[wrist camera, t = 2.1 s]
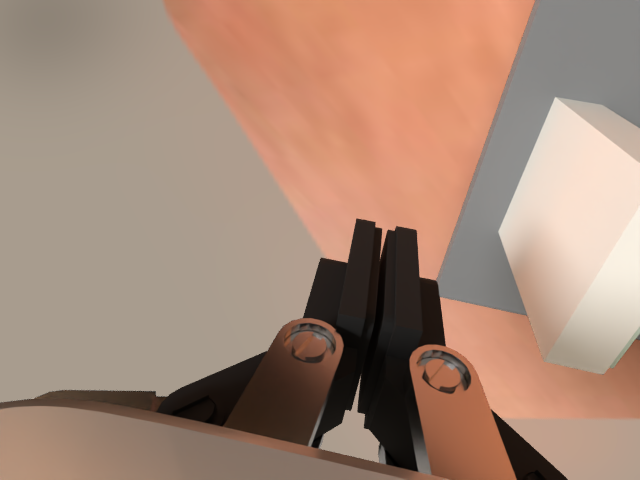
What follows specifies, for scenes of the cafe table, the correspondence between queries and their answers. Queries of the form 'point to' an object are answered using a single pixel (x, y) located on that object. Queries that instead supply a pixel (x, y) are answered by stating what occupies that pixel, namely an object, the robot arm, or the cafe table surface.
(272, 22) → the cafe table surface
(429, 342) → the robot arm
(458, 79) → the cafe table surface
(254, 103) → the cafe table surface
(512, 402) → the cafe table surface
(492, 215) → the mat
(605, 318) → the tile
